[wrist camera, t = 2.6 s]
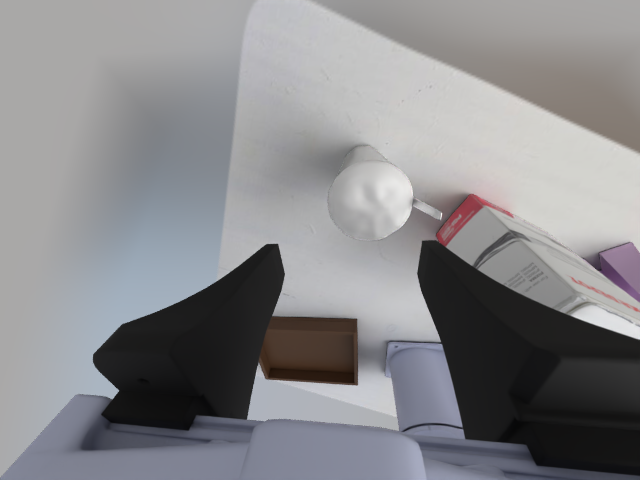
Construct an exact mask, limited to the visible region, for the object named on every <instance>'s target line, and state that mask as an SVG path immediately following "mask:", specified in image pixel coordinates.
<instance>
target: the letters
mask: <svg viewBox="0 0 640 480" xmlns="http://www.w3.org/2000/svg"><path fill="white" fill-rule="evenodd" d="M599 256H600V262H601V269H602V270H600V271H599V272H600V273H601V274H603V275H604V276H605V277H606V278H608V279H609V280H610V281H612V282H613V283H614V284H615V285H617V286H618V287H619V288H621V289H622V290H623V291H625V292H626V293H627V294H629V295H630V296H631V297H633V298H634V299H635V300H637V301H638V302H639V303H640V253H639V251H638V250H637V249H636V247H635V246H634V244H633V243H632V242H631V243H628V244H625V245H622V246H619V247H616V248H613V249H610V250H606V251H603V252H600V253H599ZM582 259H583V260H584V261H586V260H585V259H584V258H582ZM586 262H587V261H586ZM587 263H588V262H587ZM588 264H589V263H588ZM589 265H590V264H589ZM591 266H592V265H591ZM592 267H593V266H592ZM593 268H594V267H593Z"/></svg>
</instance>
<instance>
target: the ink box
mask: <svg viewBox="0 0 640 480" xmlns="http://www.w3.org/2000/svg"><path fill="white" fill-rule="evenodd" d="M436 237H437V238H438V240H439V242H440V243H441V244H442V245H444V246H445V247H446V248H448V249H449V250H450V251H452V252H453V253H454V254H456V255H457V256H459V257H460V258H461V259H463V260H464V261H466V262H467V263H469V264H470V265H471V266H473V267H474V268H476V269H477V270H479V271H481V272H482V273H484V274H485V275H487V276H489V277H490V278H492V279H494V280H495V281H497V282H499V283H501V284H503V285H504V286H506V287H508V288H510V289H512V290H514V291H516V292H518V293H520V294H522V295H524V296H526V297H528V298H530V299H532V300H535V301H537V302H539V303H541V304H543V305H546V306H548V307H550V308H553V309H555V310H558V311H560V312H562V313H565V314H568V315H570V316H573V317H575V318H578V319H580V320H583V321H586V322H588V323H591V324H594V325H597V326H600V327H603V328H606V329H609V330H612V331H615V332H618V333H621V334H624V335H627V336H630V337H633V338H636V339H639V340H640V303H639V302H638V301H637V300H635V299H634V298H633V297H631V296H630V295H629V294H627V293H626V292H625V291H623V290H622V289H621V288H619V287H618V286H617V285H615V284H614V283H613V282H612V281H610V280H609V279H608V278H606V277H605V276H604V275H603V274H601V273H600V272H599V271H597V270H596V269H595V268H593V267H592V266H591V265H589V264H588V263H587V262H586V261H584V260H583V259H582V258H580V257H579V256H578V255H577V254H575V253H574V252H573V251H571V250H570V249H569V248H567V247H566V246H565V245H564V244H562V243H561V242H560V241H558V240H557V239H556V238H554V237H553V236H552V235H550V234H549V233H548V232H546V231H544V230H542V229H540V228H538V227H536V226H535V225H533V224H531V223H529V222H527V221H525V220H523V219H521V218H519V217H517V216H515V215H513V214H511V213H509V212H507V211H505V210H503V209H501V208H499V207H497V206H495V205H493V204H491V203H489V202H487V201H485V200H484V199H481V198H479V197H478V196H476V195H474V194H470V195H469V196H468V197H467V198H466V200H465V201H464V202H463V203H462V204H461V205H460V206H459V207H458V208H457V210H456V211H455V212H454V213H453V214H452V215H451V216H450V218H449V219H448V220H447V221H446V222H445V224H444V225H443V226H442V227H441V229H440V230H439V231H438V233H437V234H436Z"/></svg>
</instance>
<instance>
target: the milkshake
mask: <svg viewBox="0 0 640 480" xmlns="http://www.w3.org/2000/svg"><path fill="white" fill-rule="evenodd" d="M412 206H414V207H416V208H418V209H419V210H421V211H423V212H425V213H427V214H428V215H430V216H432V217H434V218H436V219H437V220H439V221H440V220H441V217H442V212H441V211H440V210H438V209H436V208H434V207H432V206H430V205H428V204H426V203H424V202H422V201H420V200H418V199H416V198H414V197H413V190H412V186H411V183H410V181H409V179H408V178H407V176H406V175H405V174H404V173H403V172H402V171H401V170H400V169H399V168H398V167H396V166H395V165H394V164H392V163H391V162H390V161H388V160H387V159H386V158H385V157H384V156H383V155H382V154H381V153H380V152H379V151H377V150H376V149H374V148H373V147H371V146H370V145H366V146H356V147H355V148H354V149H352V150H351V151H350V152H349V153H348V154H347V155H346V156H345V159H344V161H343V163H342V166H341V168H340V171H339V173H338V174H337V176H336V178H335V180H334V182H333V184H332V186H331V188H330V190H329V194H328V209H329V213H330V216H331V218H332V220H333V222H334V223H335V225H336V226H337V227H338V228H339V229H340V230H341V231H342V232H343V233H344V234H345V235H347V236H349V237H351V238H354V239H358V240H372V241H375V240H381V239H383V238H385V237H387V236H389V235H390V234H392V233H393V232H395V231H396V230H398V229H399V228H400V227H402V226H403V225H404V223H405V222H406V221H407V219H408V217H409V215H410V213H411V209H412Z"/></svg>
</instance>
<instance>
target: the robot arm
mask: <svg viewBox="0 0 640 480" xmlns="http://www.w3.org/2000/svg"><path fill="white" fill-rule="evenodd" d="M417 275H418V279H419V283H420V287H421V291H422V294H423V297H424V299H425V302H426V304H427V307H428V309H429V312H430V314H431V317H432V319H433V321H434V324H435V326H436V329H437V331H438V334H439V337H440V340H441V343H442V344H433V343H409V342H389V343H388V347H387V357H386V367H385V376H386V377H388V378H392V384H393V391H394V398H395V405H396V411H397V418H398V425H399V431H396V430H390V429H386V428H380V427H371V426H360V425H347V424H337V423H325V422H313V421H302V420H291V419H274V420H267V421H255V420H247V416H248V410H249V404H250V399H251V394H252V389H253V384H254V379H255V375H256V370H257V366H258V362H259V357H260V353H261V349H262V345H263V341H264V338H265V334H266V331H267V328H268V325H269V322H270V320H271V317H272V314H273V312H274V309H275V306H276V304H277V301H278V298H279V296H280V293H281V290H282V285H283V281H284V276H285V273H284V268H283V264H282V259H281V255H280V250H279V246H278V244H266V245H265V246H264V247H262V248H261V249H260V250H258V251H257V252H256V253H255V254H253V255H252V256H251V257H250V258H248V259H247V260H246V261H245V262H243V263H242V264H241V265H240V266H238V267H237V268H235V269H234V270H233V271H231V272H230V273H229V274H227V275H226V276H224V277H223V278H221V279H220V280H218V281H217V282H215V283H214V284H212V285H210V286H209V287H207V288H205V289H203V290H202V291H200V292H198V293H196V294H194V295H192V296H190V297H188V298H187V299H184V300H182V301H180V302H178V303H176V304H174V305H171V306H169V307H167V308H164V309H162V310H160V311H157V312H155V313H152V314H150V315H147V316H144V317H141V318H139V319H136V320H133V321H130V322H128V323H125V324H122V325H121V326H120V327H119V328H118V329H117V330H116V331H115V332H114V333H113V334H112V335H111V336H110V338H109V339H108V340H107V341H106V342H105V343H104V344H103V345H102V346H101V347H100V348H99V349H98V350H97V351H96V352H95V353H94V354H93V363H94V365H95V367H96V368H97V369H98V370H99V372H100V373H102V375H103V376H105V377H106V378H107V379H108V380H109V381H110V382H111V383H112V384H113V385H114V386H115V387H116V388H117V389H118V390H120V391H119V392H118V393H117V394H116V396H115V397H114V399H113V400H112V399H110V398H108V397H103V396H96V395H83V394H78V395H75V396H74V397H73V398H72V399H71V401H70V402H69V403H68V404H67V405H66V406H65V407H64V408H63V409H62V410H61V412H60V413H59V414H58V415H57V416H56V417H55V418H54V419H53V420H52V421H51V423H50V424H49V425H48V426H47V427H46V428H45V429H44V430H43V431H42V432H41V433H40V435H39V436H38V437H37V438H36V439H35V440H34V441H33V442H32V443H31V445H30V446H29V447H28V448H27V449H26V450H25V451H24V452H23V453H22V454H21V456H20V457H19V458H18V459H17V460H16V461H15V462H14V463H13V464H12V465H11V467H10V468H9V469H8V470H7V471H6V472H5V473H4V474H3V475H2V476H1V478H0V480H640V340H639V339H636V338H633V337H630V336H627V335H624V334H621V333H618V332H615V331H612V330H609V329H606V328H603V327H600V326H597V325H594V324H591V323H588V322H586V321H583V320H580V319H578V318H575V317H573V316H570V315H568V314H565V313H562V312H560V311H558V310H555V309H553V308H550V307H548V306H546V305H543V304H541V303H539V302H537V301H535V300H532V299H530V298H528V297H526V296H524V295H522V294H520V293H518V292H516V291H514V290H512V289H510V288H508V287H506V286H504V285H503V284H501V283H499V282H497V281H495V280H494V279H492V278H490V277H489V276H487V275H485V274H484V273H482V272H481V271H479V270H477V269H476V268H474V267H473V266H471V265H470V264H469V263H467V262H466V261H464V260H463V259H461V258H460V257H459V256H457V255H456V254H454V253H453V252H452V251H450V250H449V249H448V248H446V247H445V246H444V245H442V244H441V243H439V242H438V241H436V240H429V241H422V247H421V253H420V260H419V266H418V272H417Z"/></svg>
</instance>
